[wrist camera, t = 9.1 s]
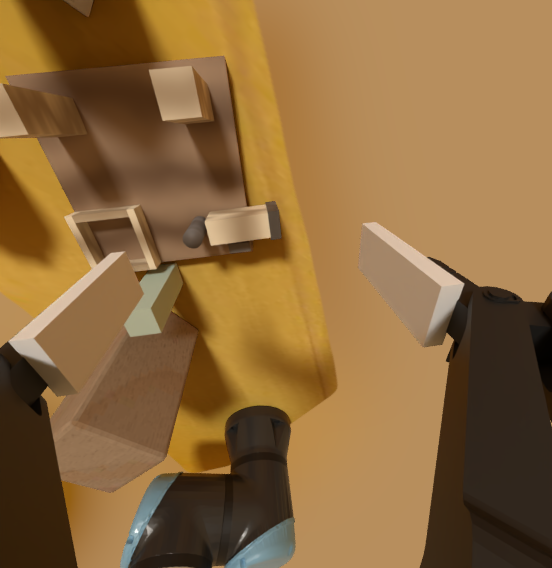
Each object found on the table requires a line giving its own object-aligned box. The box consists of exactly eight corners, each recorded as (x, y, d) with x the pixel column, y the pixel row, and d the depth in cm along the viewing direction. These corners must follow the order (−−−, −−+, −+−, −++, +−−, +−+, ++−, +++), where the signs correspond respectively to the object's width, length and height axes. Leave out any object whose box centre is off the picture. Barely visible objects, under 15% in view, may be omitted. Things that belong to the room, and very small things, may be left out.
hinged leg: (215, 234, 32) (211, 248, 28) (209, 209, 30) (203, 220, 27) (277, 226, 32) (281, 238, 28) (275, 201, 31) (278, 210, 27)
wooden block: (200, 329, 43) (167, 460, 26) (163, 359, 45) (111, 495, 28) (149, 294, 38) (68, 424, 21) (111, 329, 41) (13, 470, 24)
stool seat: (252, 245, 35) (254, 280, 27) (111, 262, 35) (66, 303, 26) (225, 61, 25) (213, 23, 17) (22, 80, 24) (-100, 51, 16)
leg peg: (183, 283, 38) (161, 332, 28) (160, 286, 38) (130, 336, 28) (176, 262, 36) (150, 308, 26) (151, 265, 36) (117, 312, 26)
